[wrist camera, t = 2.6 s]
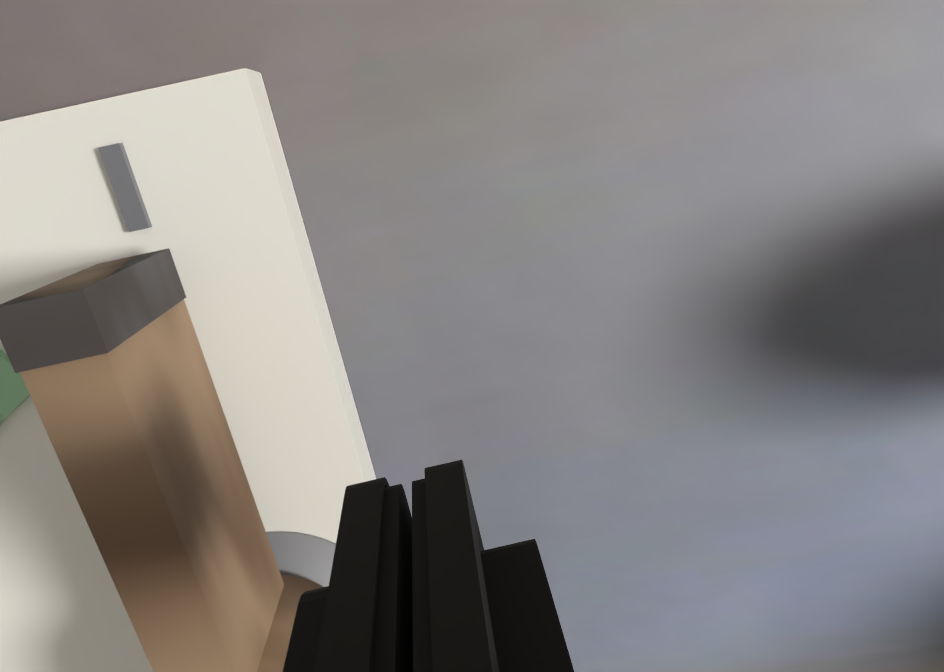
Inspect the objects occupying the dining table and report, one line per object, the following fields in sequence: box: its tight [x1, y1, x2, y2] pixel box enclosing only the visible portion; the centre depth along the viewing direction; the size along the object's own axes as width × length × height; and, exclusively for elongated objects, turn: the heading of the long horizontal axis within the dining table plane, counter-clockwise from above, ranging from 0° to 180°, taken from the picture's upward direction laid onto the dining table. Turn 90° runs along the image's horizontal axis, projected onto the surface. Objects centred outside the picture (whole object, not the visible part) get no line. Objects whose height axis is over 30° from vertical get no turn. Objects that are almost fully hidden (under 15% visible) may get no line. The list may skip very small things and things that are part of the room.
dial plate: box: [0, 68, 376, 672], centre depth 19 cm, size 20×17×2 cm
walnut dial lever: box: [0, 248, 323, 672], centre depth 16 cm, size 14×4×5 cm, turn 12°
